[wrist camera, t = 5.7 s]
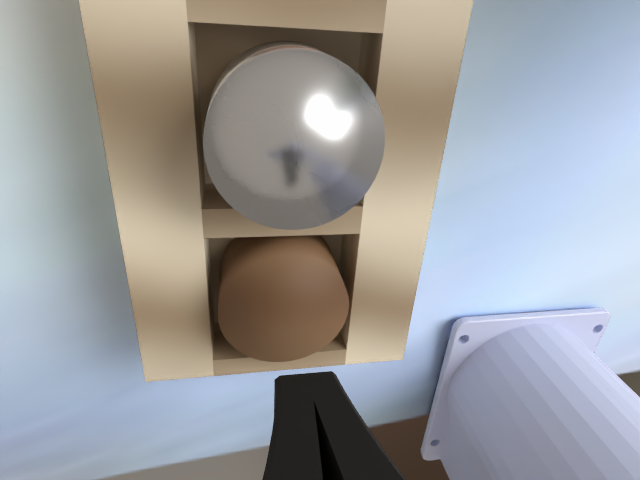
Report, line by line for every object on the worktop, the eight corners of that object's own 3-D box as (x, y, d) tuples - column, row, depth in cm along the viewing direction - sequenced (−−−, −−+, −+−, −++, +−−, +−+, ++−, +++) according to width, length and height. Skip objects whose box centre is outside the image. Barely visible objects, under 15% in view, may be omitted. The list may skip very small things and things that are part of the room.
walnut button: (329, 312, 17) (343, 356, 15) (222, 319, 16) (220, 367, 14) (337, 218, 15) (354, 253, 13) (216, 221, 14) (214, 258, 12)
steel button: (350, 191, 13) (373, 227, 11) (212, 193, 12) (208, 232, 10) (365, 44, 11) (397, 54, 9) (203, 36, 10) (196, 44, 8)
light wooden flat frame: (378, 310, 19) (402, 359, 16) (158, 324, 17) (145, 381, 14) (463, -247, 11) (537, -327, 8) (65, -323, 9) (-2, -454, 6)
